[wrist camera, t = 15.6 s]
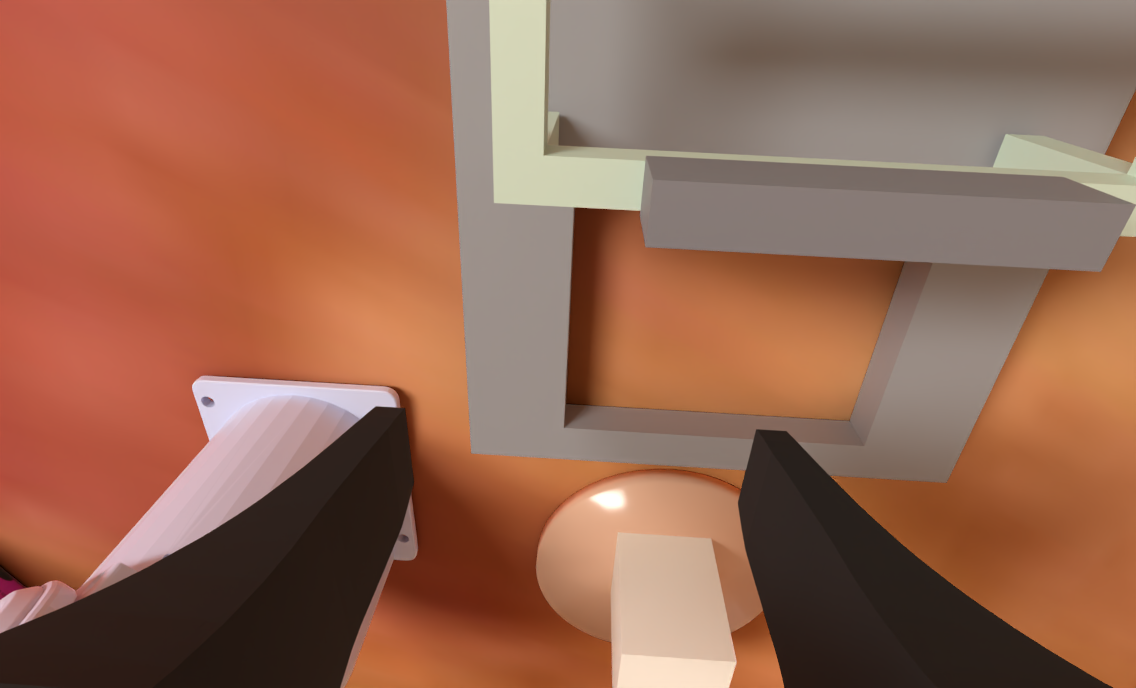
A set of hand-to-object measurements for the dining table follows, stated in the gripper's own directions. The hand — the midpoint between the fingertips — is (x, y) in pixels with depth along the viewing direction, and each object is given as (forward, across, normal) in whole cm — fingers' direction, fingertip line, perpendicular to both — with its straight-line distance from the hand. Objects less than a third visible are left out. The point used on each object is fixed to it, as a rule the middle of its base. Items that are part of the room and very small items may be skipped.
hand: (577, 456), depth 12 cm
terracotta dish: (+9, -4, +14) cm, 17 cm away
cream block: (+9, -4, +14) cm, 16 cm away
